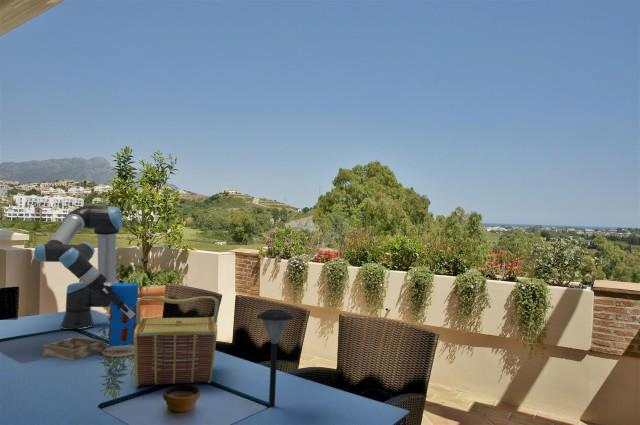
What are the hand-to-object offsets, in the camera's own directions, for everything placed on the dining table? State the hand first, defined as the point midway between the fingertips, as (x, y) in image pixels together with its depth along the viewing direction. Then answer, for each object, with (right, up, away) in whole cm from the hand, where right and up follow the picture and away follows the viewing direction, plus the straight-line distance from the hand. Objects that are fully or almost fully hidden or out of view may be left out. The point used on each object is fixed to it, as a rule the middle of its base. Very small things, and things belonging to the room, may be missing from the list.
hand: (130, 313), depth 203 cm
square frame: (-21, -15, -6) cm, 27 cm away
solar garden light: (+67, -17, -55) cm, 89 cm away
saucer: (-3, -16, -2) cm, 16 cm away
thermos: (-3, -12, -2) cm, 13 cm away
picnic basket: (+30, -17, -33) cm, 47 cm away
